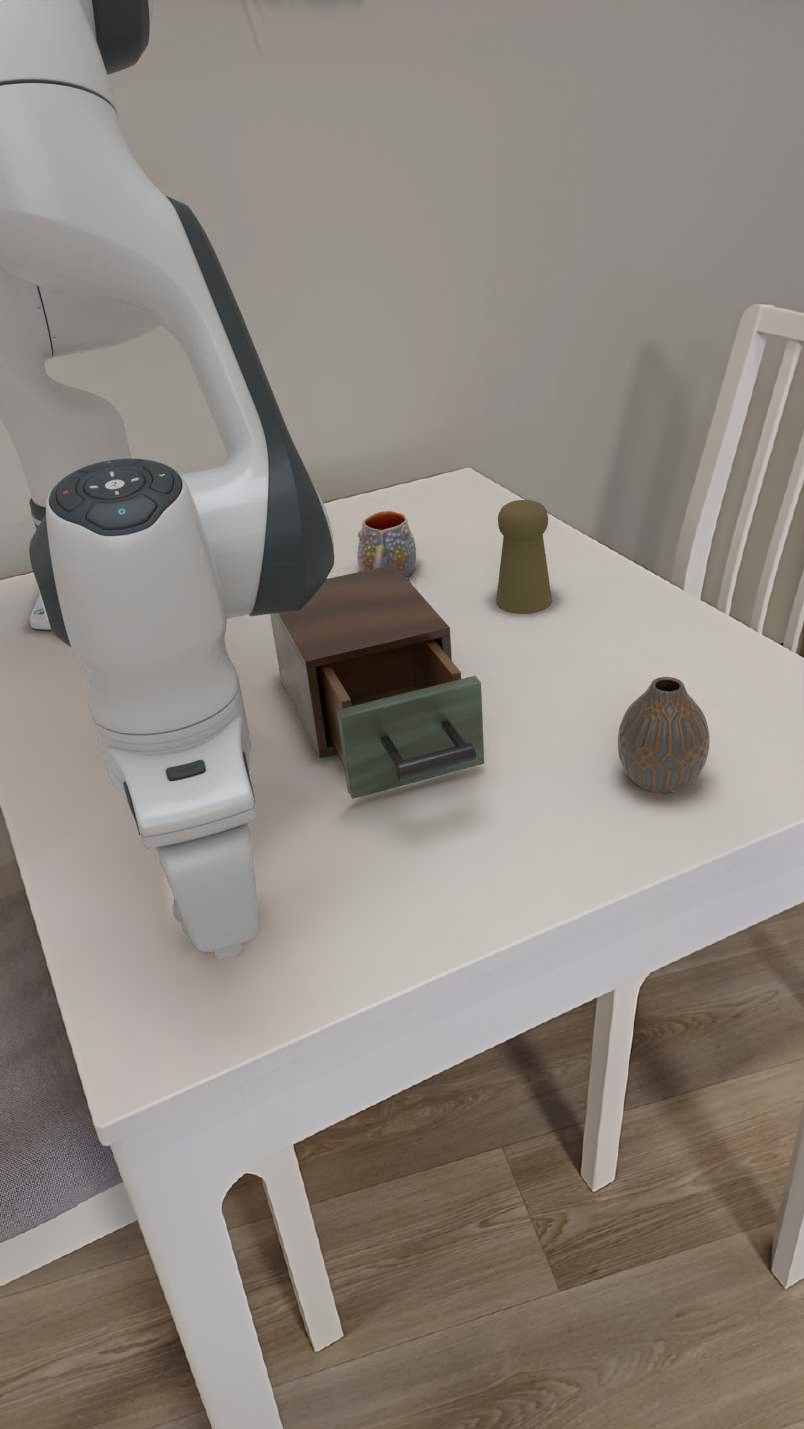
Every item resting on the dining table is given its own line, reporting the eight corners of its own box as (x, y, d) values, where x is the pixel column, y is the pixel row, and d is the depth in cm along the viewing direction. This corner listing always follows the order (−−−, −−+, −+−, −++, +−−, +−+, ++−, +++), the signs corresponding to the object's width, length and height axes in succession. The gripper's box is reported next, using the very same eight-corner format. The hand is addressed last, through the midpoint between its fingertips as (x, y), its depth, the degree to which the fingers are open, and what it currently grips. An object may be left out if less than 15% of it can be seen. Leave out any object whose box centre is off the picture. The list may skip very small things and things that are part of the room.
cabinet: (455, 723, 88) (450, 627, 83) (319, 758, 85) (305, 661, 80) (402, 651, 100) (394, 564, 95) (280, 680, 97) (266, 591, 92)
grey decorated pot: (365, 560, 120) (359, 508, 116) (421, 560, 119) (417, 507, 115) (345, 605, 110) (338, 549, 107) (406, 605, 109) (401, 548, 105)
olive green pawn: (549, 614, 105) (550, 515, 99) (492, 612, 106) (489, 515, 100) (554, 588, 109) (554, 493, 104) (499, 588, 111) (496, 493, 105)
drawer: (511, 799, 77) (509, 714, 73) (371, 838, 74) (361, 753, 70) (427, 687, 92) (421, 612, 88) (309, 716, 89) (297, 640, 85)
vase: (641, 744, 83) (647, 653, 79) (720, 771, 79) (731, 676, 75) (600, 785, 79) (603, 691, 74) (680, 816, 75) (689, 719, 70)
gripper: (108, 670, 68) (151, 828, 75) (142, 846, 51) (193, 1026, 59) (199, 650, 70) (232, 806, 77) (260, 814, 53) (296, 994, 60)
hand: (215, 903), depth 68 cm, fingers open, 8 cm apart
